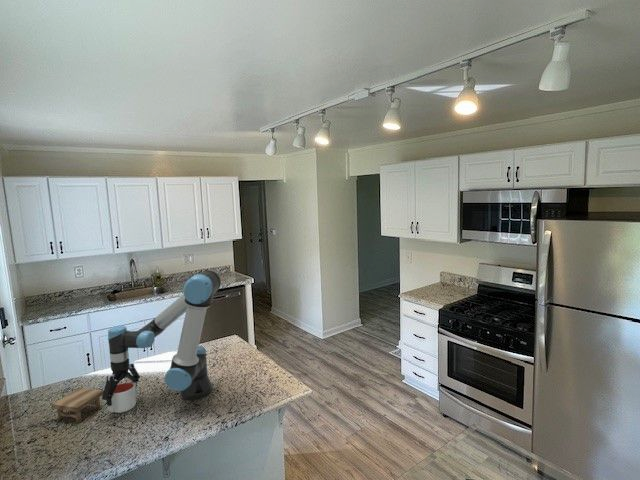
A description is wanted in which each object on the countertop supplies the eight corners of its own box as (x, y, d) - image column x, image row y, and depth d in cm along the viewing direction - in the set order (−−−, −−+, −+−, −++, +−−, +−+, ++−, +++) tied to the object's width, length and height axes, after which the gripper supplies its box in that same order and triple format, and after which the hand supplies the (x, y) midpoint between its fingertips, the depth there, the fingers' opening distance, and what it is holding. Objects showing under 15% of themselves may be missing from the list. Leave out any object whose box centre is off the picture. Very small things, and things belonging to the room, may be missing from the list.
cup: (125, 415, 159) (123, 394, 158) (106, 413, 161) (104, 392, 160) (141, 402, 169) (139, 383, 168) (123, 400, 171) (121, 381, 170)
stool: (105, 406, 166) (103, 390, 166) (78, 424, 153) (76, 407, 152) (81, 403, 170) (79, 387, 169) (53, 421, 156) (51, 404, 155)
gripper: (133, 348, 175) (136, 388, 178) (89, 371, 151) (94, 417, 154) (145, 349, 174) (148, 389, 176) (104, 373, 149) (108, 419, 152)
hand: (123, 402), depth 165 cm, fingers open, 13 cm apart
